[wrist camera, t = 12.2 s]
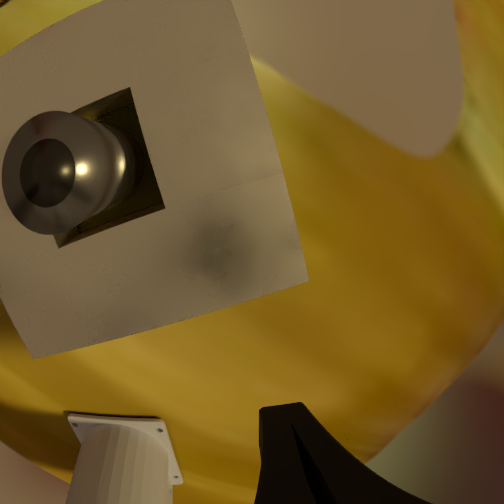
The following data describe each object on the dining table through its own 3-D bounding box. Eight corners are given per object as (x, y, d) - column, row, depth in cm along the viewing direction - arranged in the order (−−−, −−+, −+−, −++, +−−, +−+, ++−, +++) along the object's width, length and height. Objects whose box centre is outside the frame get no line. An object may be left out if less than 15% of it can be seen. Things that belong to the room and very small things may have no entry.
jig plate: (292, 261, 18) (309, 280, 15) (51, 333, 17) (33, 358, 14) (215, -6, 13) (219, -33, 10) (-24, 103, 12) (-52, 99, 9)
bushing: (145, 201, 15) (105, 231, 9) (77, 206, 15) (7, 238, 8) (143, 124, 14) (101, 100, 8) (74, 133, 14) (0, 123, 7)
